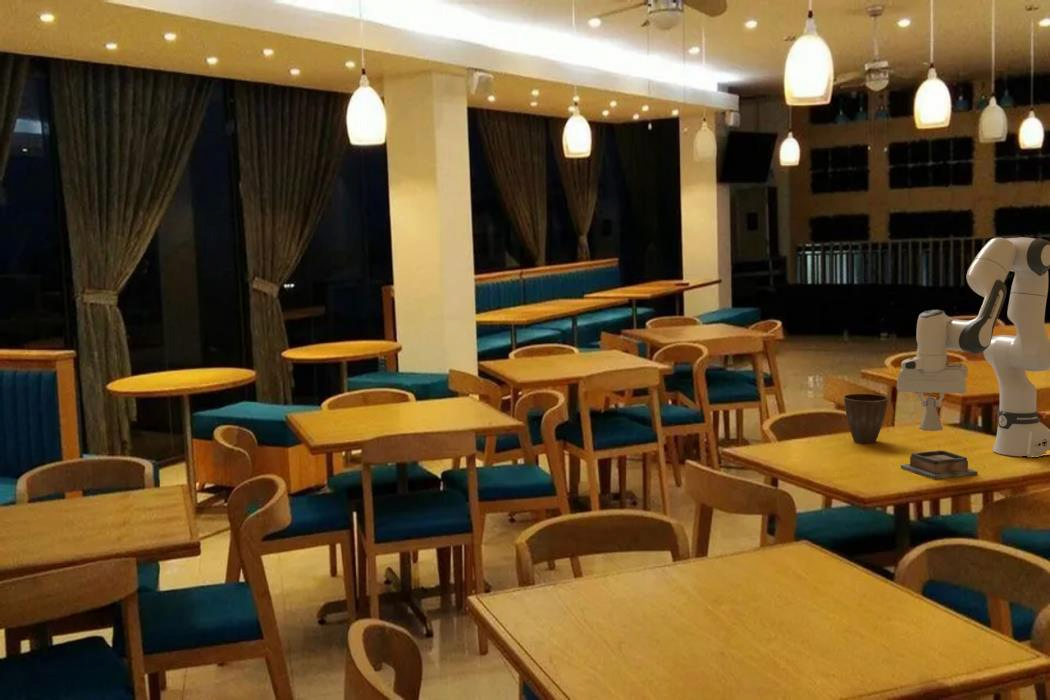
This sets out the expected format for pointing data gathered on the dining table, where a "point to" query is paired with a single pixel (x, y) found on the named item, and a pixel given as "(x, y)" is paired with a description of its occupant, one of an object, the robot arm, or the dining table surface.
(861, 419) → the plant pot
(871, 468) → the dining table surface
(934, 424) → the flask
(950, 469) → the walnut plinth
